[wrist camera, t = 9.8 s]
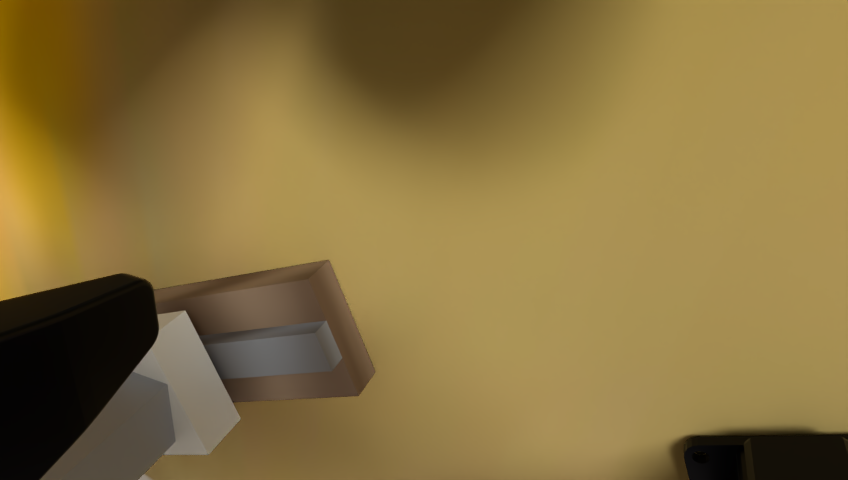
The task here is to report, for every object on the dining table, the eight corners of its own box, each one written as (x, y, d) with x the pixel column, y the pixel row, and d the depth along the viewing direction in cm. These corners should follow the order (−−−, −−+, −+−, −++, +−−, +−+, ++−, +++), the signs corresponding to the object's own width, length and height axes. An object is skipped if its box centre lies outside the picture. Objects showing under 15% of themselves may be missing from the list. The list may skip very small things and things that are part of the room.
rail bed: (329, 259, 23) (227, 355, 18) (375, 371, 25) (294, 488, 19) (114, 296, 28) (-11, 378, 23) (163, 386, 30) (56, 481, 25)
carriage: (185, 310, 23) (-118, 544, 14) (240, 419, 25) (-1, 688, 16) (113, 320, 25) (-194, 534, 16) (170, 421, 26) (-83, 665, 18)
